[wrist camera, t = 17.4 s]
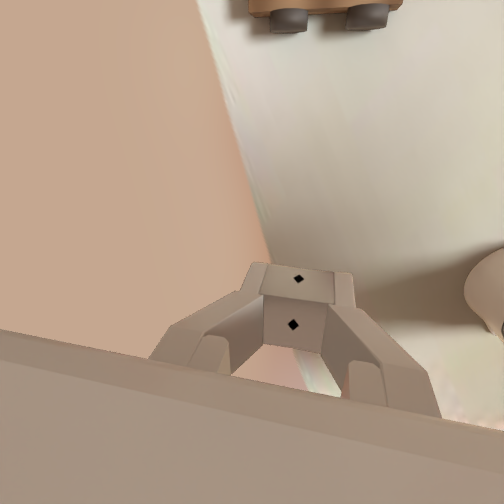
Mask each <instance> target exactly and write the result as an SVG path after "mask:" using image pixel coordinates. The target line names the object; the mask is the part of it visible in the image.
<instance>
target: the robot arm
mask: <svg viewBox="0 0 504 504" xmlns="http://www.w3.org/2000/svg"><path fill="white" fill-rule="evenodd" d="M464 297H465V300H466V302H467V304H468V306H469V307H470V308H471V309H472V310H473V311H474V312H475V313H476V314H477V315H479V316H480V317H481V318H482V319H483V320H484V321H485V323H486V326H487V327H488V329H489V330H490V332H491V333H492V334H493V335H495V336H498V337H499V338H500V340H501V341H502V342H503V343H504V248H502V249H499V250H497V251H495V252H493V253H491V254H490V255H488V256H487V257H485V258H484V259H482V260H481V261H480V262H479V263H478V264H477V265H476V266H475V267H474V268H473V269H472V270H471V272H470V273H469V275H468V277H467V279H466V281H465V284H464ZM263 344H269V345H276V346H282V347H289V348H295V349H300V350H305V351H309V352H314V353H319V354H321V357H322V359H323V360H324V362H325V364H326V366H327V367H328V369H329V371H330V373H331V374H332V376H333V378H334V380H335V381H336V383H337V385H338V387H339V388H340V390H341V392H342V393H341V397H340V398H339V397H334V396H329V395H324V394H319V393H314V392H309V391H304V390H299V389H294V388H289V387H284V386H279V385H274V384H269V383H264V382H259V381H254V380H249V379H244V378H239V377H234V376H231V374H232V373H234V372H235V371H236V370H237V369H238V368H239V367H240V366H241V365H242V364H243V363H244V362H245V361H246V360H247V359H248V358H250V356H252V355H253V354H254V353H255V352H256V351H257V350H258V349H259V348H260V347H261V346H262V345H263ZM0 504H504V431H501V430H496V429H491V428H486V427H481V426H476V425H471V424H466V423H461V422H456V421H452V420H447V419H442V416H441V413H440V410H439V407H438V404H437V401H436V398H435V395H434V391H433V388H432V385H431V382H430V379H429V376H428V373H427V371H426V370H425V369H424V368H423V367H422V366H421V365H419V364H418V363H417V362H416V361H415V360H414V359H413V358H412V357H411V356H410V355H409V354H408V353H407V352H406V351H405V350H404V349H403V348H402V347H401V346H400V345H399V344H398V343H397V342H396V341H394V340H393V339H392V338H391V337H390V336H389V335H388V334H387V333H386V332H385V331H384V330H383V329H382V328H381V327H380V326H379V325H378V324H377V323H376V322H375V321H374V320H373V319H372V318H371V317H369V316H368V315H367V314H366V313H365V312H364V311H363V310H362V309H361V308H356V304H355V295H354V285H353V276H352V274H351V273H346V272H332V271H322V270H311V269H301V268H297V267H290V266H283V265H276V264H268V263H261V262H253V263H252V264H251V266H250V269H249V271H248V273H247V275H246V278H245V280H244V282H243V284H242V287H241V289H240V291H234V292H232V293H230V294H228V295H226V296H224V297H223V298H221V299H219V300H217V301H216V302H213V303H212V304H210V305H208V306H206V307H204V308H203V309H201V310H199V311H197V312H195V313H193V314H192V315H190V316H188V317H186V318H184V319H182V320H181V321H179V322H177V323H175V324H173V325H171V326H170V327H169V328H168V330H167V331H166V333H165V334H164V336H163V337H162V339H161V340H160V342H159V343H158V345H157V346H156V348H155V349H154V351H153V352H152V354H151V355H150V357H149V358H148V359H145V358H140V357H135V356H130V355H125V354H121V353H116V352H111V351H106V350H100V349H95V348H91V347H86V346H81V345H76V344H71V343H66V342H61V341H56V340H51V339H46V338H41V337H36V336H31V335H26V334H22V333H16V332H12V331H7V330H2V329H0Z"/></svg>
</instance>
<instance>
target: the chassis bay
mask: <svg viewBox="0 0 504 504" xmlns="http://www.w3.org/2000/svg"><path fill="white" fill-rule="evenodd" d="M402 3H403V0H248V12H249V13H250V14H251V15H252V16H254V17H270V32H273V33H299V32H305V31H307V20H308V15H310V14H329V13H347V18H346V27H345V29H347V30H374V29H380V28H384V27H386V24H387V18H388V13H389V10H397V9H398V8H399V7H400V6H401V5H402Z"/></svg>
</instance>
